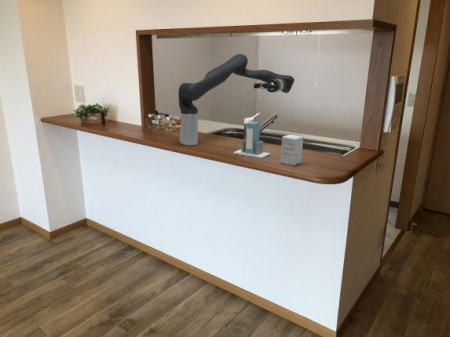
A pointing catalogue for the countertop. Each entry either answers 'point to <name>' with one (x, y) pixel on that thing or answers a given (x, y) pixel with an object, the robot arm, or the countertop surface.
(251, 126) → the book
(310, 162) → the countertop surface
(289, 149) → the supplement box
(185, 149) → the countertop surface
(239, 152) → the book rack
